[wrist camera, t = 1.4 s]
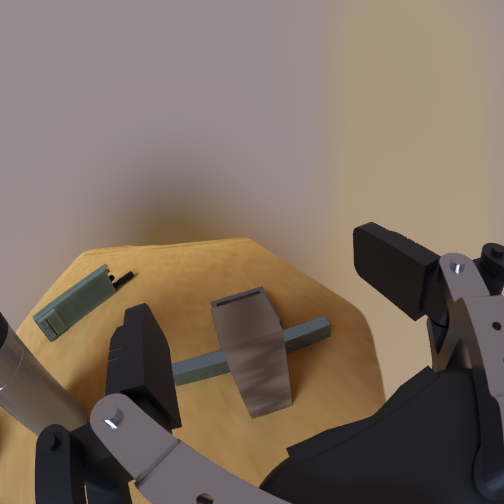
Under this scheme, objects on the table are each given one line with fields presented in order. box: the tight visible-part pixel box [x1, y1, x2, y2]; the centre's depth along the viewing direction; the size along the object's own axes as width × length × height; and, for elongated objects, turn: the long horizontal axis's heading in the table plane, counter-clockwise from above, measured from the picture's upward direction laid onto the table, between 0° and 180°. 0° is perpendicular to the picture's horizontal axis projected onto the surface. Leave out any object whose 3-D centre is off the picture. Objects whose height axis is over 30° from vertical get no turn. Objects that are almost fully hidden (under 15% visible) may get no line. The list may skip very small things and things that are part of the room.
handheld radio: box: [33, 264, 134, 342], centre depth 49 cm, size 7×3×25 cm
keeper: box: [172, 286, 330, 386], centre depth 39 cm, size 22×12×2 cm, turn 106°
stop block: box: [211, 293, 293, 419], centre depth 26 cm, size 5×5×14 cm
